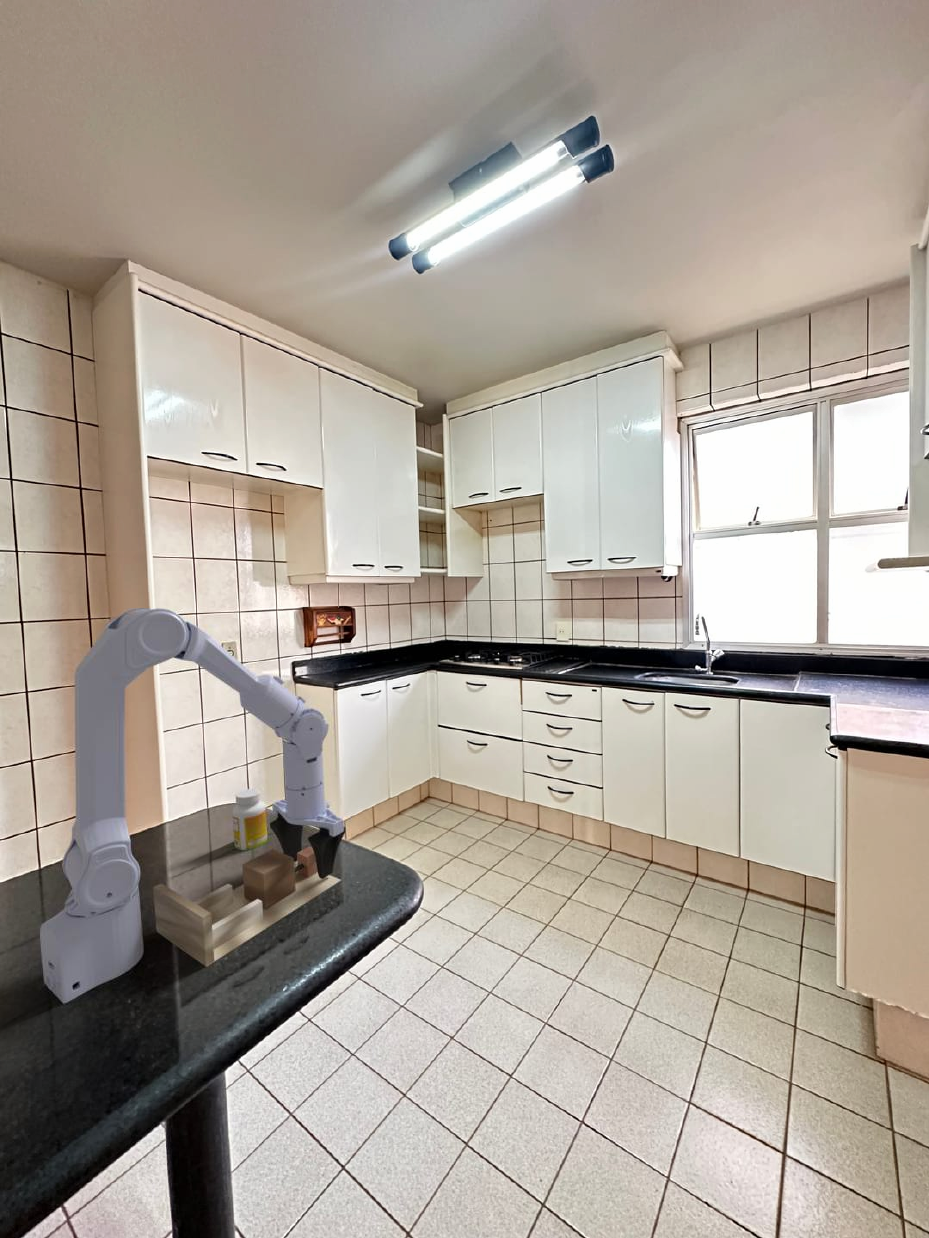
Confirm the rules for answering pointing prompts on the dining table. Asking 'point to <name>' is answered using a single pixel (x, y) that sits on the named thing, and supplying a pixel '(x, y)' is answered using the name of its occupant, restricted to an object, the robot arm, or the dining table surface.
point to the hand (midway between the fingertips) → (309, 868)
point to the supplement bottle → (249, 820)
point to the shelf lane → (225, 916)
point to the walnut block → (275, 875)
